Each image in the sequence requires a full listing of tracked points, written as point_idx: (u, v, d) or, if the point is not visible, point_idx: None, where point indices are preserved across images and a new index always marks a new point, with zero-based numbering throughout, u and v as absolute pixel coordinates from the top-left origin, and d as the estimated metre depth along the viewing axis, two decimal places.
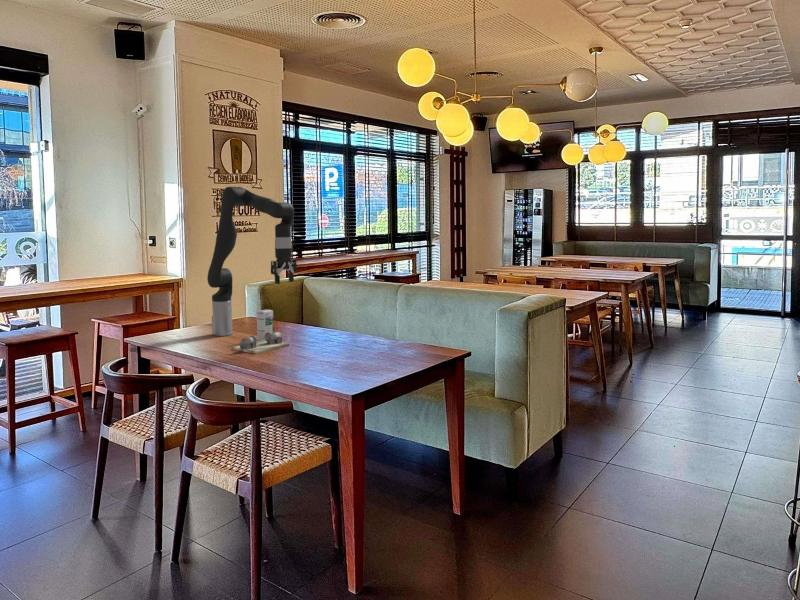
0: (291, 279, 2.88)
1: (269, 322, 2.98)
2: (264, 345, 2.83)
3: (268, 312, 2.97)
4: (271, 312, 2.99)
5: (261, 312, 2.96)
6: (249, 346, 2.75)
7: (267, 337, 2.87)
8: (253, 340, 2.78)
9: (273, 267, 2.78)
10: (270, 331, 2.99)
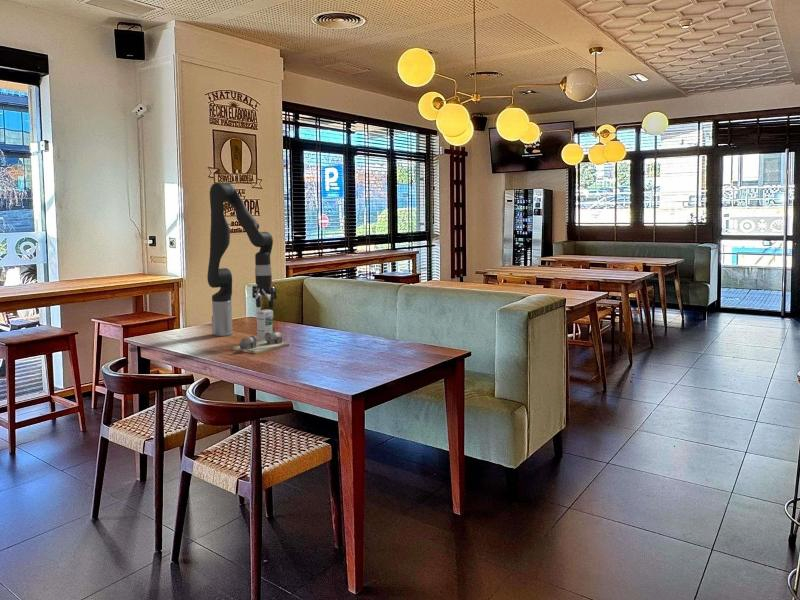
0: (259, 304, 3.01)
1: (269, 322, 2.98)
2: (264, 345, 2.83)
3: (268, 312, 2.97)
4: (271, 312, 2.99)
5: (261, 312, 2.96)
6: (249, 346, 2.75)
7: (267, 337, 2.87)
8: (253, 340, 2.78)
9: (275, 293, 2.94)
10: (270, 331, 2.99)
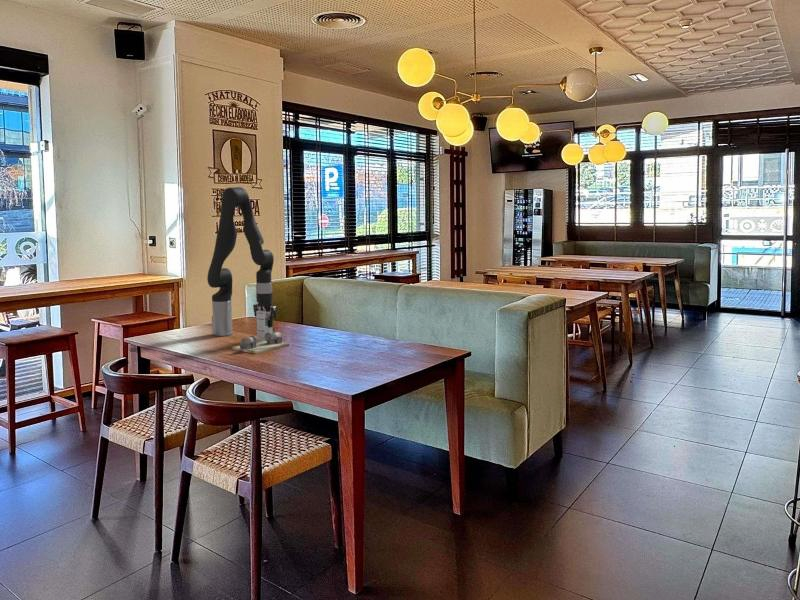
0: None
1: None
2: (264, 345, 2.83)
3: (268, 312, 2.97)
4: None
5: (261, 312, 2.96)
6: (249, 346, 2.75)
7: (267, 337, 2.87)
8: (253, 340, 2.78)
9: (275, 312, 2.96)
10: (270, 331, 2.99)
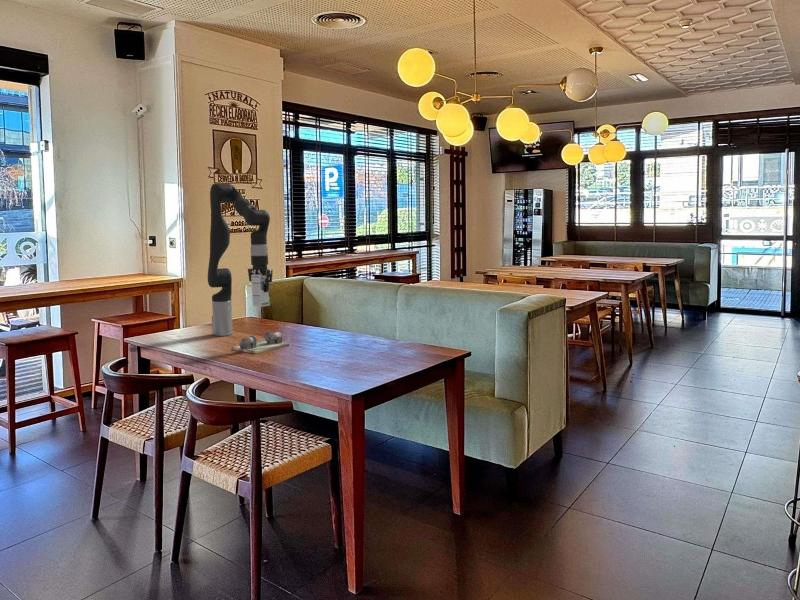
0: None
1: None
2: (264, 345, 2.83)
3: (264, 276, 2.81)
4: None
5: (256, 276, 2.80)
6: (249, 346, 2.75)
7: (267, 337, 2.87)
8: (253, 340, 2.78)
9: (271, 275, 2.79)
10: (266, 296, 2.82)
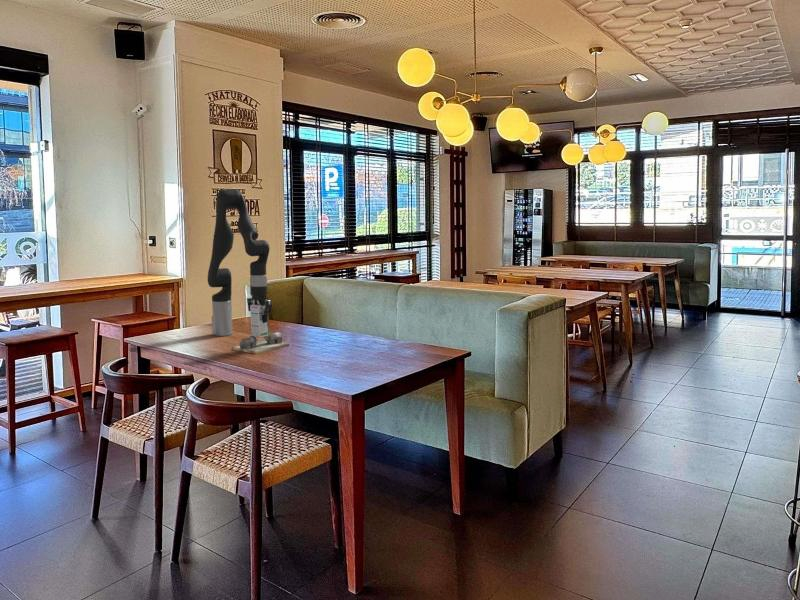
0: None
1: None
2: (264, 345, 2.83)
3: (263, 306, 2.80)
4: None
5: (255, 306, 2.79)
6: (249, 346, 2.75)
7: (267, 337, 2.87)
8: (253, 340, 2.78)
9: (270, 306, 2.78)
10: (265, 326, 2.81)
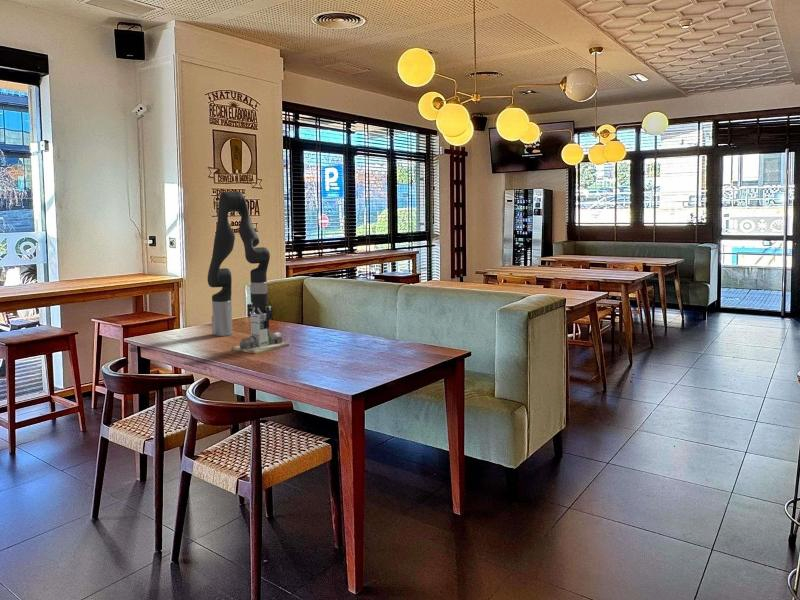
0: None
1: None
2: (264, 345, 2.83)
3: None
4: None
5: (255, 315, 2.80)
6: (249, 346, 2.75)
7: None
8: (253, 340, 2.78)
9: (271, 312, 2.78)
10: (265, 335, 2.82)
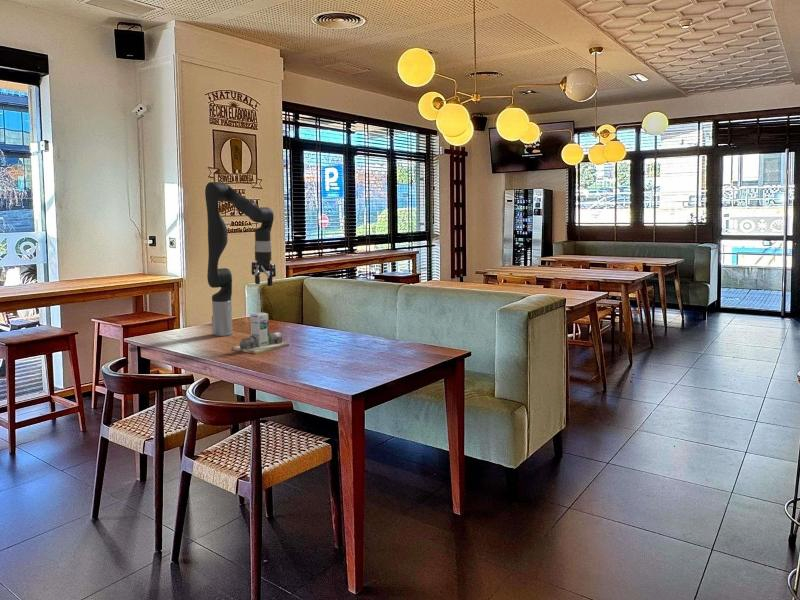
0: (258, 281, 2.97)
1: (264, 326, 2.81)
2: (264, 345, 2.83)
3: (263, 315, 2.81)
4: (266, 315, 2.82)
5: (255, 315, 2.80)
6: (249, 346, 2.75)
7: None
8: (253, 340, 2.78)
9: (274, 270, 2.89)
10: (265, 335, 2.82)
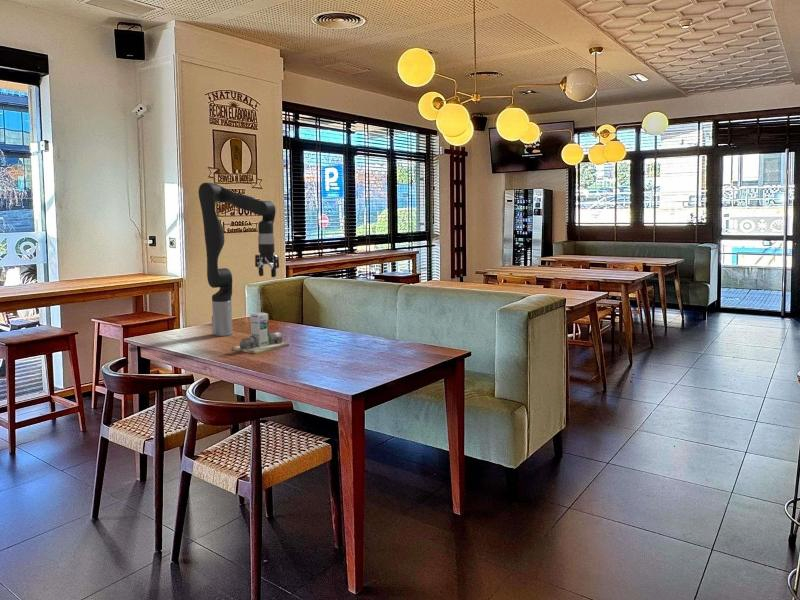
0: (262, 273, 3.05)
1: (264, 326, 2.81)
2: (264, 345, 2.83)
3: (263, 315, 2.81)
4: (266, 315, 2.82)
5: (255, 315, 2.80)
6: (249, 346, 2.75)
7: None
8: (253, 340, 2.78)
9: (277, 261, 2.98)
10: (265, 335, 2.82)
